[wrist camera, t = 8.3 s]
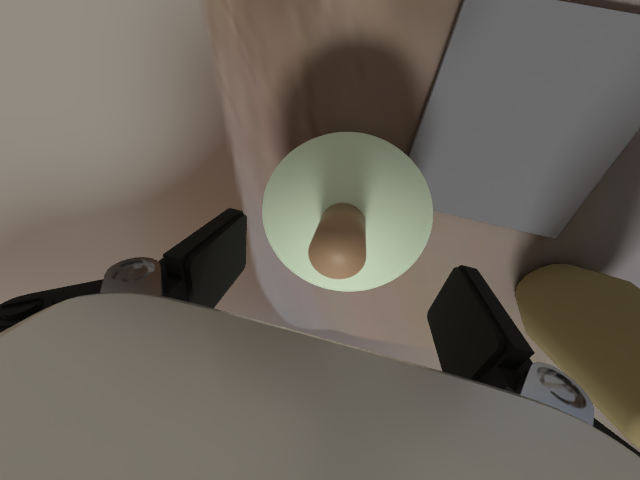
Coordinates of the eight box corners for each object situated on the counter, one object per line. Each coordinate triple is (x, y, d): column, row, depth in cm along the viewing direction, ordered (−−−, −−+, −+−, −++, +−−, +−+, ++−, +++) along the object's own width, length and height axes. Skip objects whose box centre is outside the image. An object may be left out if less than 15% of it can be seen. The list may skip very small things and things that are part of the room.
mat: (466, -11, 15) (470, -16, 14) (702, 31, 14) (715, 27, 13) (392, 199, 21) (393, 201, 21) (550, 235, 21) (555, 238, 20)
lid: (274, 114, 15) (233, 111, 10) (460, 153, 14) (508, 168, 10) (262, 265, 21) (232, 307, 16) (396, 298, 20) (406, 353, 15)
